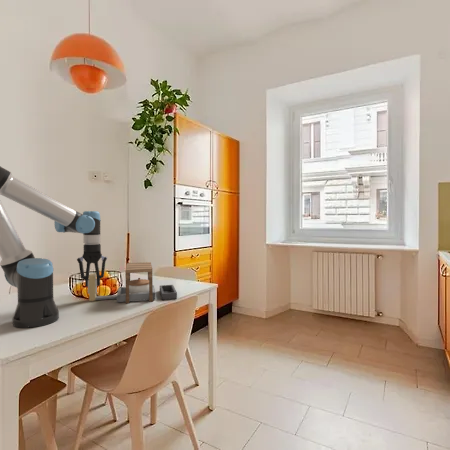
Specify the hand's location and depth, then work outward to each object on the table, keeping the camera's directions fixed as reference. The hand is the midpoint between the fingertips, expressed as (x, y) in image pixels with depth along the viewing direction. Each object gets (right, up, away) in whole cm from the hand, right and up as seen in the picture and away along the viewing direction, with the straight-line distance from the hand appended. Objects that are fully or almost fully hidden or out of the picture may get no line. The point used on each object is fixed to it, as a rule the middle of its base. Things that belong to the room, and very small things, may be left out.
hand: (92, 292), depth 148 cm
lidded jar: (+20, -4, +6) cm, 22 cm away
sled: (+13, -3, +4) cm, 14 cm away
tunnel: (+20, -3, +6) cm, 22 cm away
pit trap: (+34, -3, +10) cm, 35 cm away
